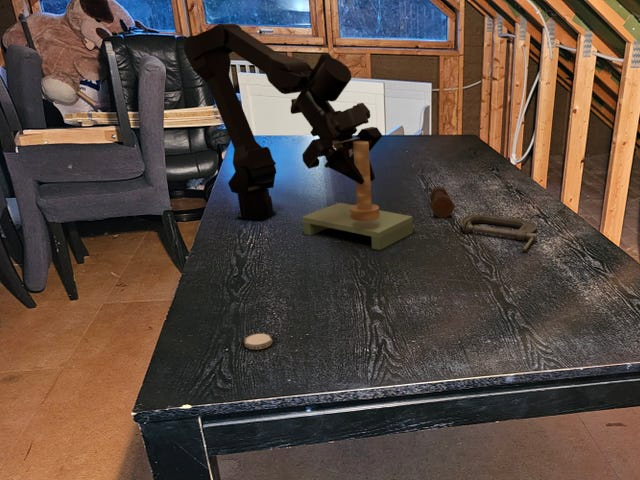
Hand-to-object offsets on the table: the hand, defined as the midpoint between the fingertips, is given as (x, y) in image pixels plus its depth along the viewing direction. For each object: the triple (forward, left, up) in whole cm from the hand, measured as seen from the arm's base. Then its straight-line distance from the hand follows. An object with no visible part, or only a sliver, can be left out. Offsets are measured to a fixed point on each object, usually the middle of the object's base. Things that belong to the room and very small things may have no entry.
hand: (368, 181), depth 131 cm
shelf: (-5, +7, -13) cm, 16 cm away
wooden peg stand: (-1, 0, -8) cm, 8 cm away
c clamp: (+25, +15, -14) cm, 32 cm away
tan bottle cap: (+3, -47, -13) cm, 49 cm away
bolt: (+8, +30, -14) cm, 34 cm away
